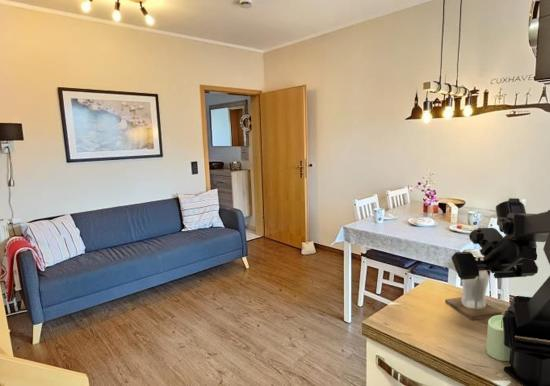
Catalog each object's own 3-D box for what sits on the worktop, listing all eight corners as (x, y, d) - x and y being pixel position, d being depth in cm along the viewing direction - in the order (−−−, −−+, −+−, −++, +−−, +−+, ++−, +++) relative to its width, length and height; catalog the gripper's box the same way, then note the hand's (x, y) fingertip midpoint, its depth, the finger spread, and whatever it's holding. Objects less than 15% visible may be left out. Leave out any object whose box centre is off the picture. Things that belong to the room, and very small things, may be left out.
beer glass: (487, 314, 89) (491, 259, 87) (457, 307, 93) (459, 254, 91) (488, 303, 95) (492, 251, 92) (460, 297, 99) (463, 247, 96)
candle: (499, 363, 72) (502, 327, 70) (480, 349, 76) (482, 315, 75) (519, 359, 73) (522, 323, 71) (499, 345, 78) (501, 311, 76)
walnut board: (501, 315, 90) (501, 312, 90) (471, 320, 88) (471, 316, 88) (472, 298, 100) (472, 295, 100) (445, 302, 98) (445, 299, 98)
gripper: (533, 218, 83) (499, 248, 96) (457, 221, 83) (433, 251, 95) (557, 260, 77) (517, 287, 89) (475, 264, 76) (447, 290, 89)
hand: (477, 277), depth 91 cm, fingers open, 9 cm apart
